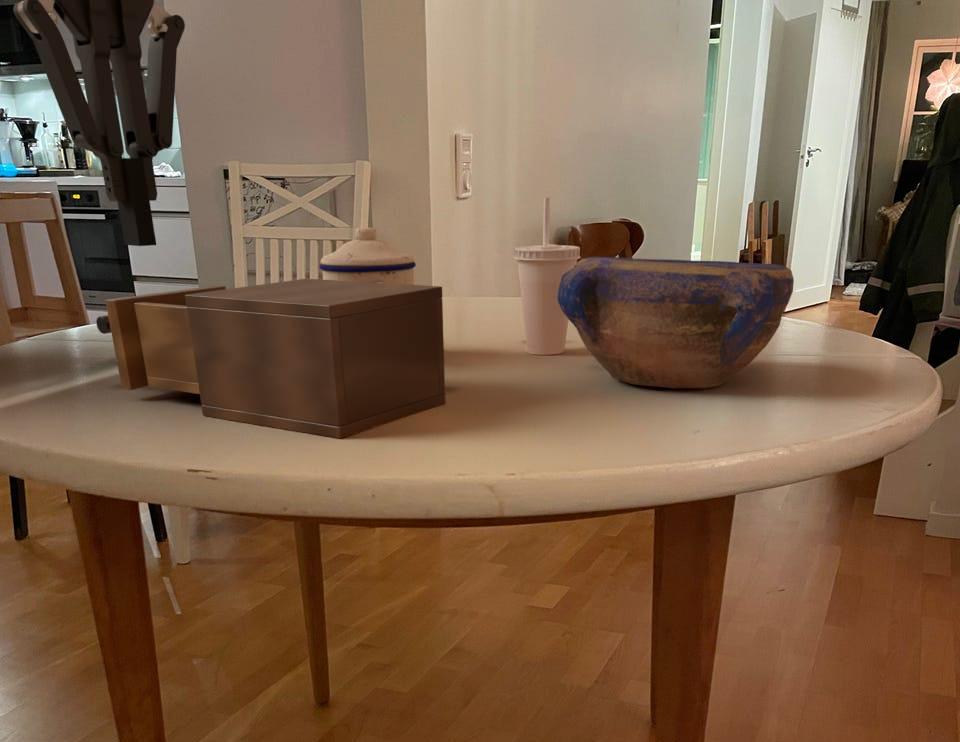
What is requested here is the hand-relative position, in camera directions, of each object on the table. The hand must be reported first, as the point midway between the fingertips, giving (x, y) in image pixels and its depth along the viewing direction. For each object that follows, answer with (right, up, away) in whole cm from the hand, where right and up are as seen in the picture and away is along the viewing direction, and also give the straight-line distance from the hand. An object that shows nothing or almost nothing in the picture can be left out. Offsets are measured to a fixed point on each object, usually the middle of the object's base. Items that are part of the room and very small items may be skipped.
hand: (140, 244), depth 78 cm
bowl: (+45, -11, +1) cm, 47 cm away
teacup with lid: (+19, -6, +12) cm, 23 cm away
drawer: (+6, -12, -1) cm, 13 cm away
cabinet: (+17, -16, -7) cm, 24 cm away
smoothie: (+35, -5, +15) cm, 39 cm away
